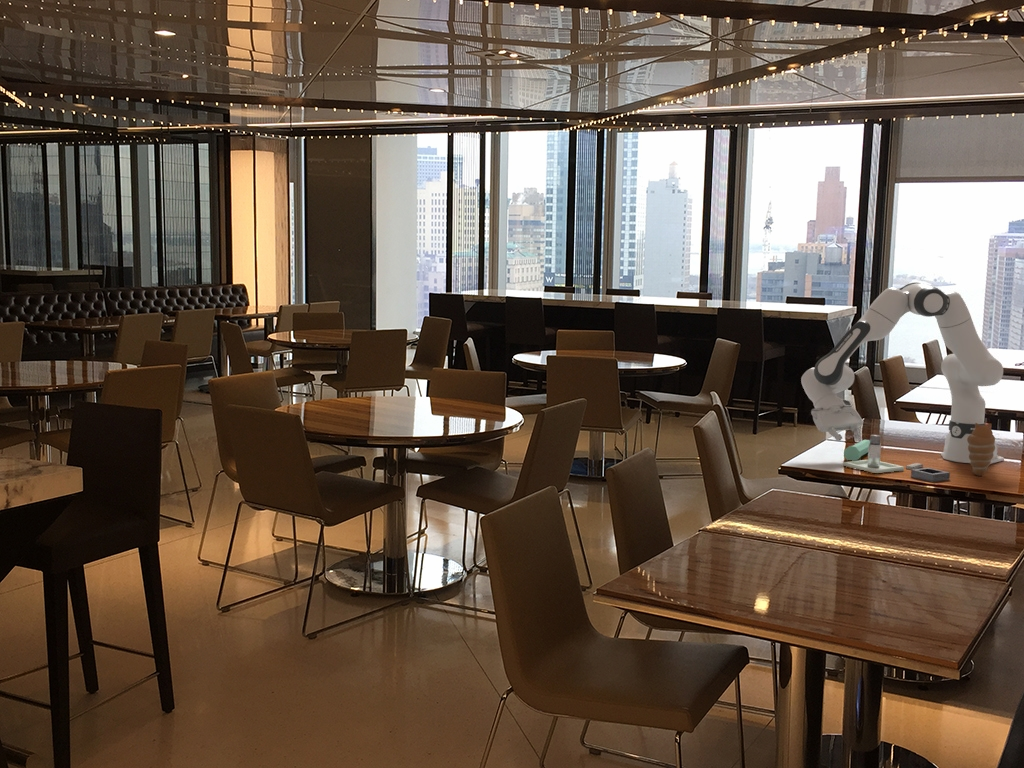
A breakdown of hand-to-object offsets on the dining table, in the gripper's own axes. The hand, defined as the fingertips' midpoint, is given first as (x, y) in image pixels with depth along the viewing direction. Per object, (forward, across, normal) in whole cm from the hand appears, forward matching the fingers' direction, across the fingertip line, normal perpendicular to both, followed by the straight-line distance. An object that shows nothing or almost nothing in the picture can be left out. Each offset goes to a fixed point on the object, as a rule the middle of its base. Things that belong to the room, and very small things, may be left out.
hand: (849, 438), depth 343 cm
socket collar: (+27, +5, -15) cm, 32 cm away
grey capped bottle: (+14, 0, -2) cm, 14 cm away
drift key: (+18, +15, -5) cm, 24 cm away
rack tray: (+14, 0, -2) cm, 14 cm away
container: (+1, +16, +12) cm, 20 cm away
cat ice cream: (+30, +25, -18) cm, 43 cm away
